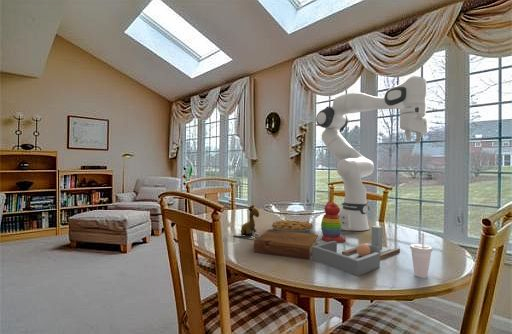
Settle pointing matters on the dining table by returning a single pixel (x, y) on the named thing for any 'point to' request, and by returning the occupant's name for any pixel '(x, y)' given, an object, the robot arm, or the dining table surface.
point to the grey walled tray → (344, 259)
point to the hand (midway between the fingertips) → (413, 141)
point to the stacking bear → (331, 224)
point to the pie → (292, 226)
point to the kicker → (377, 241)
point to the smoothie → (421, 258)
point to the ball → (363, 250)
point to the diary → (286, 244)
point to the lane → (382, 255)
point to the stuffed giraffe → (250, 224)
